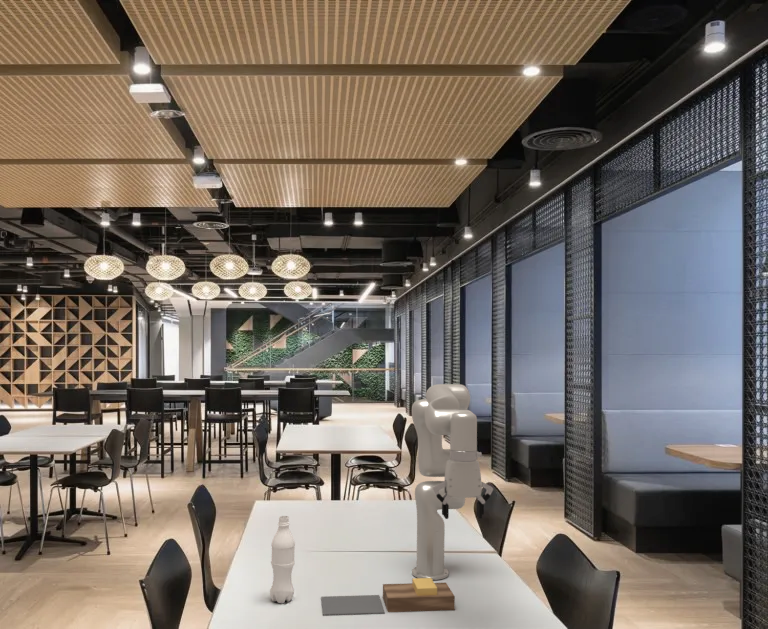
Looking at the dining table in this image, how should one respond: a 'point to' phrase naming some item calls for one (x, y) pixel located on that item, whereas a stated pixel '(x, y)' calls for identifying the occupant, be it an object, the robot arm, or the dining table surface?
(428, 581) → the yellow rectangular block
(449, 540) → the dining table surface
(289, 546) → the water bottle
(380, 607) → the mat
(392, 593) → the brown wooden block
